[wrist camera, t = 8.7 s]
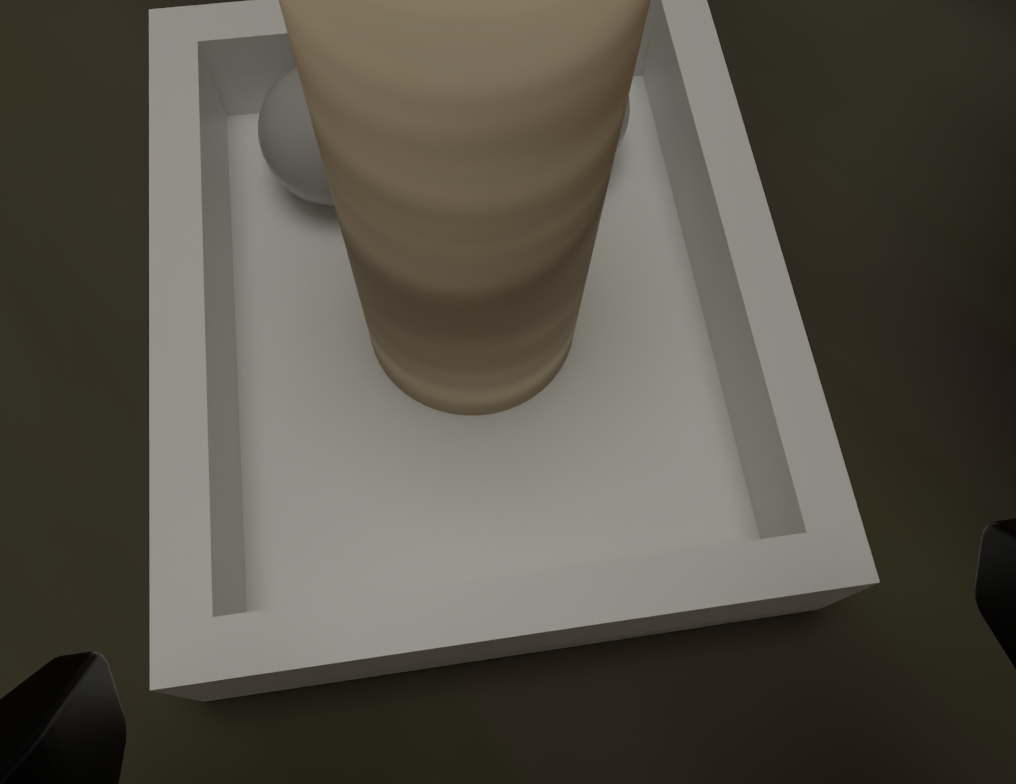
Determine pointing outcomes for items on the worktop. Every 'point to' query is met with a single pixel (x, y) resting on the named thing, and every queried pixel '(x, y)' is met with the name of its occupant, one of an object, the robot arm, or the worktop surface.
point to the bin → (478, 438)
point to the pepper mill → (468, 176)
